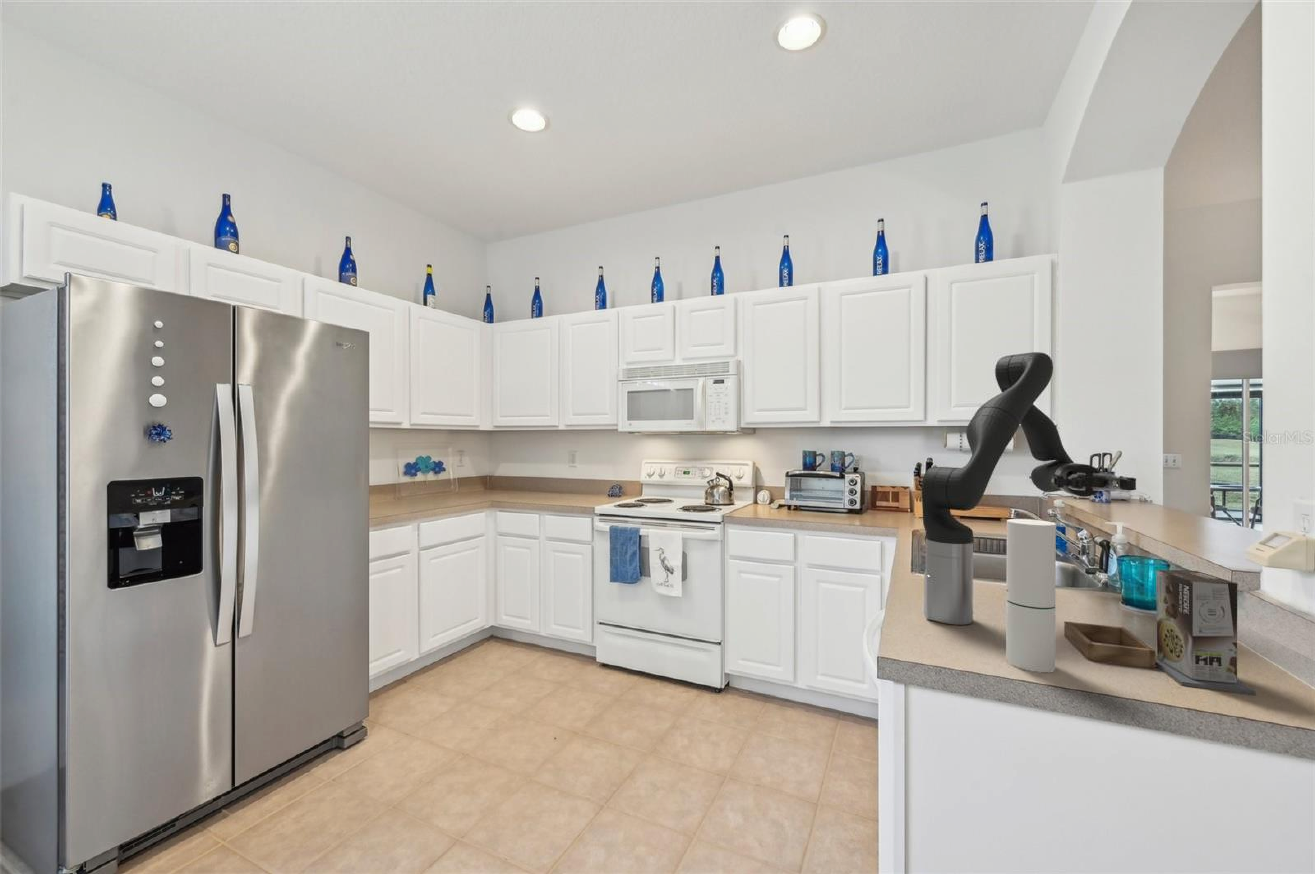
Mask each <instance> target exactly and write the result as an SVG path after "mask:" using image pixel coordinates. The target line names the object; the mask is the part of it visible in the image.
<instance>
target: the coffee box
mask: <svg viewBox="0 0 1315 874" xmlns="http://www.w3.org/2000/svg"><path fill="white" fill-rule="evenodd" d="M1155 572H1156V642H1157V643H1156V644H1157V645H1156V647H1157V648H1156V649H1157V651H1156V652H1157V653H1156V655H1157V659H1158V660H1160V661H1162V662H1163V663H1165V664H1167V665H1169V666H1171V667H1172V668H1174V669H1176V670H1177V671H1179V672H1181V673H1183V674H1184V675H1186V676H1188V677H1190V678H1192V679H1194V680H1204V681H1215V682H1225V683H1237V680H1238V587H1239V586H1238V585H1239V584H1238V582H1233V581H1232V580H1231V581H1230V580H1228V579H1224V578H1221V577H1218V576H1215V575H1212V574H1208V573H1204V572H1202V571H1199V570H1185V569H1183V570H1182V569H1169V570H1168V569H1156V571H1155Z"/></svg>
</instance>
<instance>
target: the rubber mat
mask: <svg viewBox="0 0 1315 874" xmlns="http://www.w3.org/2000/svg"><path fill="white" fill-rule="evenodd" d="M1155 667H1157V668H1159V669H1160V670H1161V671H1163V673H1165V674H1166V675H1167V676H1169V677H1170V678H1172V679H1173V680H1174V681H1175V682H1176V683H1178V684H1179V685H1180V686H1182V687H1183V686H1184V687H1190V688H1191V687H1192V688H1198V689H1205V688H1207V689H1208V690H1213V689H1214V691H1222V692H1229V693H1230V692H1231V693H1237V694H1244V693H1246V695H1252V694H1253V695H1252V696H1255V695H1256V690H1254V688H1253V689H1252V688H1251V687H1250V686H1248V685H1246V684H1245V683H1243V682H1242V681H1240V680H1239V679H1237V683H1225V682H1215V681H1204V680H1194V679H1192V678H1190V677H1188V676H1186V675H1184V674H1183V673H1181V672H1179V671H1177V670H1176V669H1174V668H1172V667H1171V666H1169V665H1167V664H1165V663H1163V662H1162V661H1160V660H1158V659H1157V654H1156V658H1155ZM1207 689H1206V690H1207Z"/></svg>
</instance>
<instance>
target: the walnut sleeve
mask: <svg viewBox="0 0 1315 874" xmlns="http://www.w3.org/2000/svg"><path fill="white" fill-rule="evenodd" d="M1063 624H1064V625H1063V626H1064V629H1063V631H1064V633H1063V635H1064V637H1065V639H1066V640H1067V641H1069V642H1070V643H1071V645H1073V647H1074V648H1075V649H1076V650H1077V651H1079V653H1080V654H1081V655H1083V657H1085V659H1086V660H1087V661H1093V662H1101V663H1108V664H1109V663H1110V664H1116V665H1117V664H1118V665H1125V666H1132V667H1134V666H1135V667H1141V668H1142V667H1143V668H1150V669H1156V665H1155V658H1156V655H1157V653H1156V652H1157V651H1156V650H1155V649H1153V648H1152V647H1150V646H1149V645H1148V644H1147V643H1145V642H1144V641H1142V640H1141V639H1140V638H1139V637H1137V636H1136V635H1134V634H1133V633H1132V632H1130V631H1129V630H1128V629H1126V628H1125V627H1124V626H1123V627H1122V626H1112V625H1104V624H1093V623H1083V622H1076V621H1075V622H1073V621H1066V620H1065V621H1064V623H1063ZM1101 642H1102V643H1101ZM1109 643H1110V644H1109ZM1111 643H1112V644H1111ZM1117 644H1118V645H1117ZM1119 644H1120V645H1119Z"/></svg>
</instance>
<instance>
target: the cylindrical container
mask: <svg viewBox="0 0 1315 874" xmlns="http://www.w3.org/2000/svg"><path fill="white" fill-rule="evenodd" d="M1056 535H1057V524H1056V523H1055V522H1051V521H1046V520H1037V519H1029V518H1014V519H1013V518H1009V519H1006V591H1005V595H1006V596H1005V597H1006V600H1005V601H1006V604H1005V605H1006V611H1005V613H1006V614H1005V615H1006V621H1005V622H1006V623H1005V624H1006V625H1005V629H1006V631H1005V635H1006V636H1005V639H1006V641H1005V643H1006V644H1005V646H1006V647H1005V654H1006V655H1005V661H1006V660H1007V661H1008V662H1009V663H1010V665H1011V666H1013V665H1015V666H1017V667H1016V668H1018V667H1020V668H1023V669H1022V670H1024V669H1025V671H1028V670H1033V671H1039V672H1038V673H1041V672H1048V673H1052V672H1051V671H1053V672H1055V671H1056V578H1057V577H1056V575H1057V574H1056V572H1057V571H1056V564H1057V563H1056V561H1057V560H1056V558H1057V557H1056V555H1057V554H1056V552H1057V551H1056V549H1057V548H1056V547H1057V546H1056V545H1057V541H1056V539H1057V536H1056ZM1007 661H1006V662H1007ZM1008 662H1007V663H1008ZM1009 663H1008V664H1009ZM1015 666H1014V667H1015ZM1020 668H1019V669H1020ZM1033 671H1032V672H1033Z"/></svg>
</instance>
